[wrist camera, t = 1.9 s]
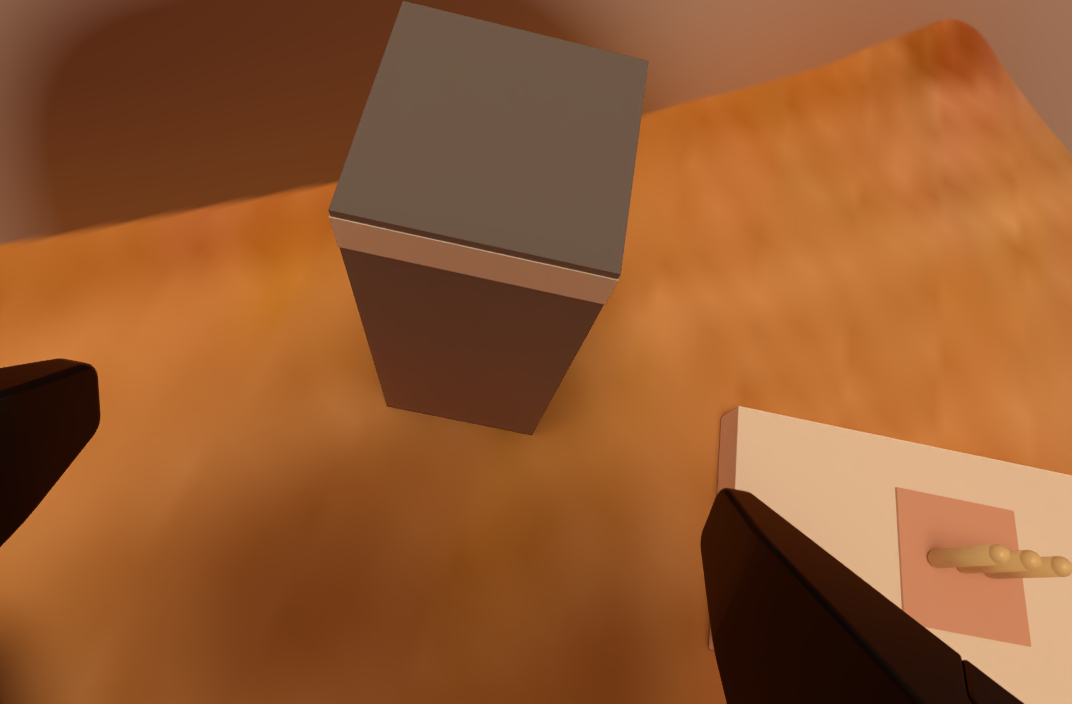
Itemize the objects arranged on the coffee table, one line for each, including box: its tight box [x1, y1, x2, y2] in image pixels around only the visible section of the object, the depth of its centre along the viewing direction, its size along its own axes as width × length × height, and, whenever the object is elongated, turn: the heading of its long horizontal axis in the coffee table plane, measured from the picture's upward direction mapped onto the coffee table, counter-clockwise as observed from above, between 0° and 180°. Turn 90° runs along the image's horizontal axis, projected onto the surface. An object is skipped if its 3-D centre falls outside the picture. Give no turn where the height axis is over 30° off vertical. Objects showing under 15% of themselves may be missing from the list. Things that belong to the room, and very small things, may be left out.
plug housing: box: [329, 1, 648, 435], centre depth 17 cm, size 5×5×12 cm
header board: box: [709, 406, 1072, 704], centre depth 20 cm, size 8×16×4 cm, turn 80°
